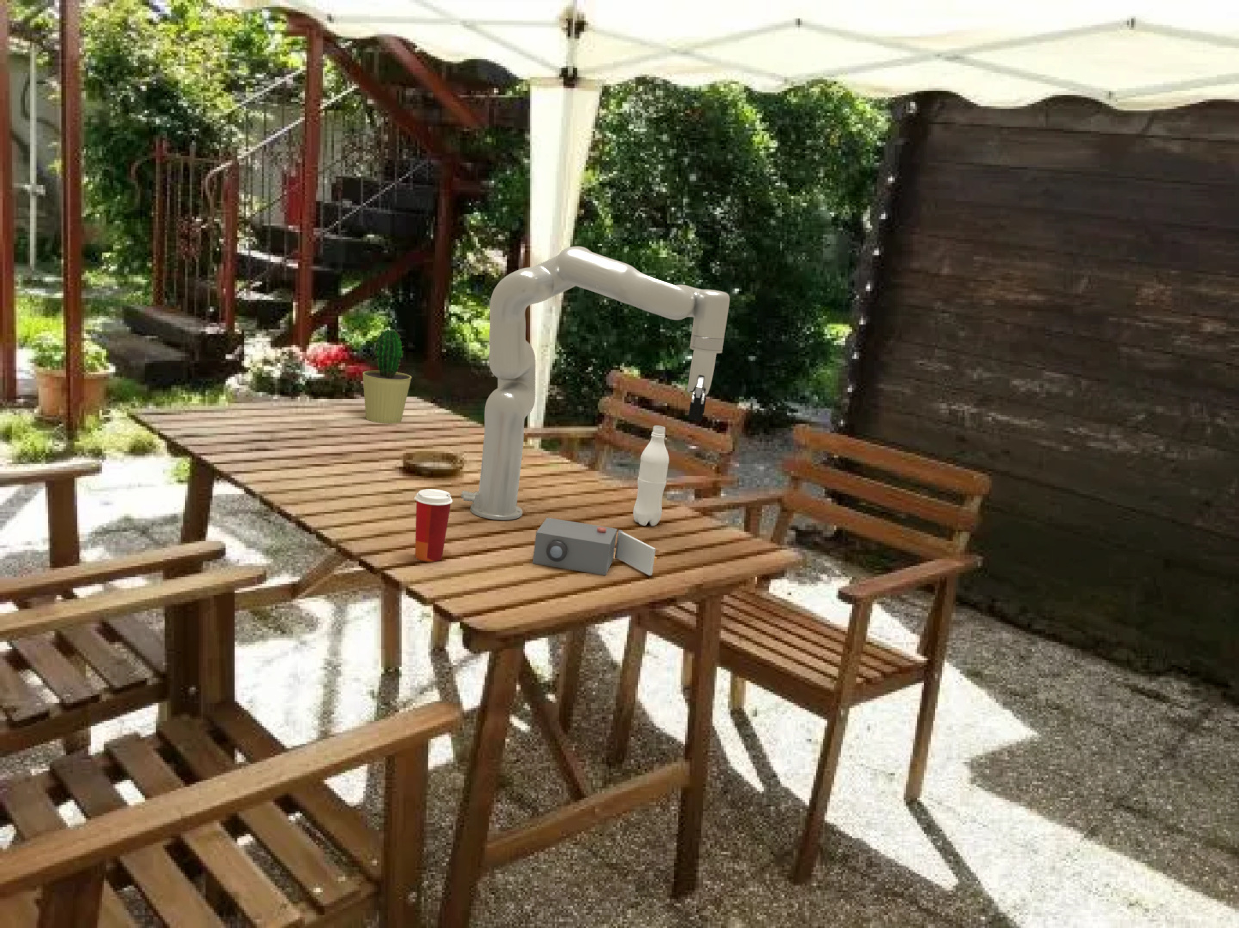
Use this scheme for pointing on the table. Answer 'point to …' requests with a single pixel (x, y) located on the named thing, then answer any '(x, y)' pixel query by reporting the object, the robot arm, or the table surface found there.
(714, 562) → the table surface
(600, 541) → the camera body
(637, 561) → the side door
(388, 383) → the potted cactus
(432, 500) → the paper cup
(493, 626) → the table surface
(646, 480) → the water bottle
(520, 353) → the robot arm
